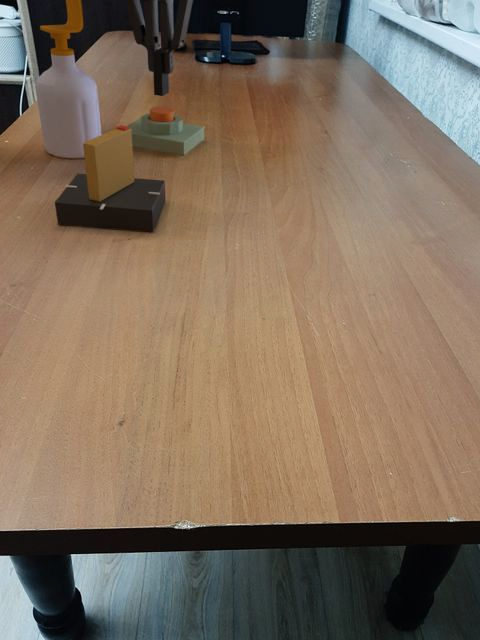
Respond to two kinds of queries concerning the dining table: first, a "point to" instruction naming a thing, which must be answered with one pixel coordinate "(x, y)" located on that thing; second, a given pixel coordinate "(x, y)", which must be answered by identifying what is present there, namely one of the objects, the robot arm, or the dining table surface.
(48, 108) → the soap bottle
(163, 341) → the dining table surface
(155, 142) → the button box
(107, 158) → the yellow angular block
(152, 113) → the button
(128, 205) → the black dial base
